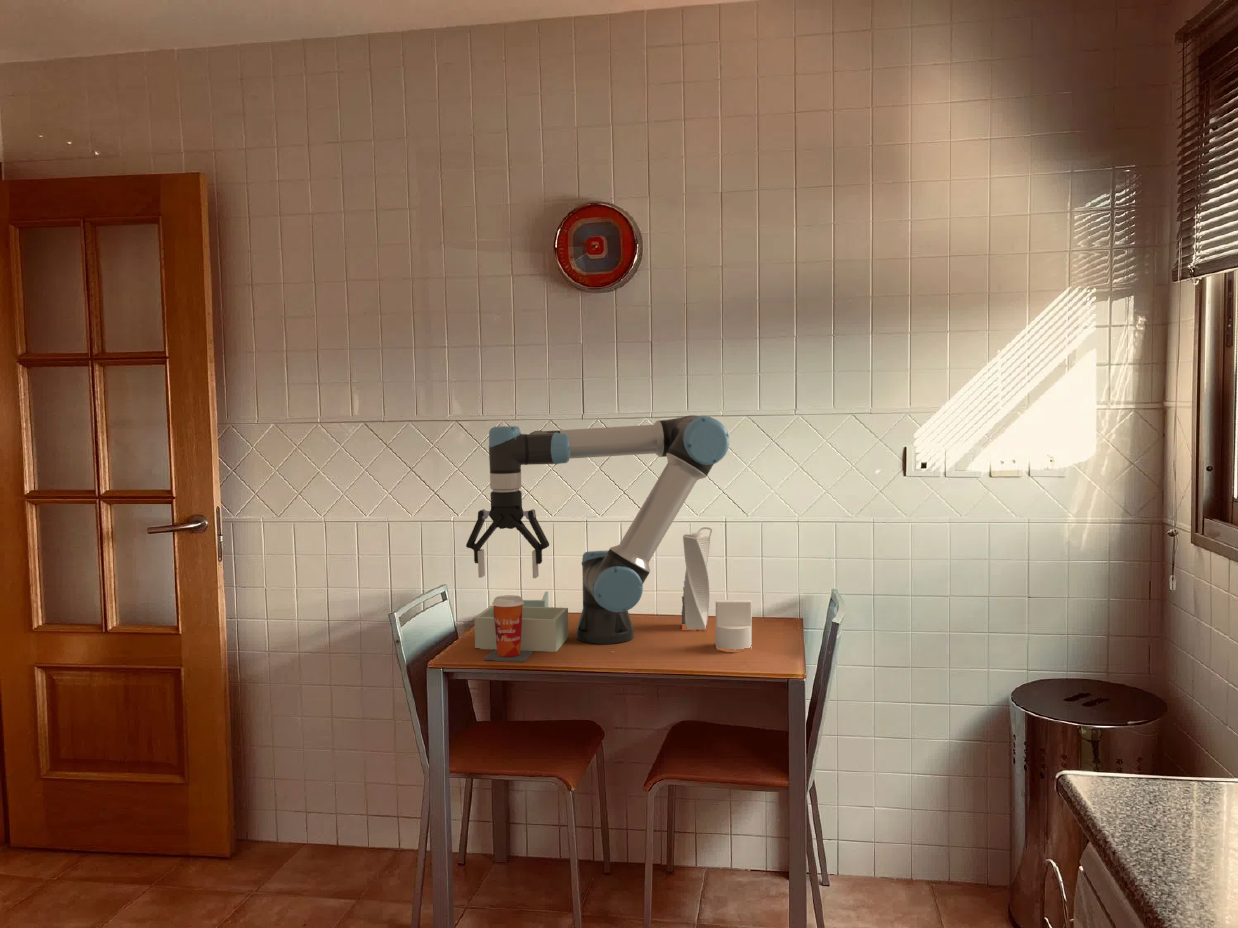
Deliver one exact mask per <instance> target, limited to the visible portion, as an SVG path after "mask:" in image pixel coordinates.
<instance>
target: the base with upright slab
mask: <svg viewBox="0 0 1238 928" xmlns="http://www.w3.org/2000/svg"><path fill="white" fill-rule="evenodd" d="M752 601H753V600H751V599H715V648H716V647H718V648H724V649H734V650H736V649H744V648H750V647H751V648H752V646H751V645H752V639H753V638H752V630H753V629H752V626H753V625H752V621H753V619H752V614H753V613H752V611H753V610H752V609H753V608H752V606H753V605H752V603H753V602H752Z"/></svg>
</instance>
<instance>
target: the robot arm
mask: <svg viewBox="0 0 1238 928" xmlns="http://www.w3.org/2000/svg"><path fill="white" fill-rule="evenodd" d="M729 447H730V435H729V432H728V430H727V428H726V426H725V425H724V424H723V423H722V422H721V421H719V420H717V419H716V418H713V417H711V416H709V415H686V416H681V417H676V418H670V419H662V420H659V419H658V420H656V421H655V422H654V423H653V424H643V425H642V424H639V425H623V426H610V427H609V426H607V427H592V428H591V427H590V428H576V429H575V428H574V429H572V428H571V429H558V430H533V431H532V432H530V433H528V434H527V433H521V429H520V427H519V426H516V425H510V426H508V425H507V426H506V425H505V426H502V425H500V426H493V427H491V428H490V429H489V431H488V460H489V488H490V490H492V491H491V492H490V510H486V509H484V508H483V509H481V510H478V512H477V520H476V522H475V525H474V527H473V529H472V531H471V533H470V536H469V537H468V540H467V542H466V545H465V547H466V548H467V549H471V550H472V551H473V561H474V564H477V570H478V572H477V573H478V574H477V575H478V578H483V577H485V576H486V571H485V567H486V566H485V549H484V548H483V549H482V547H483V546H484V545H485V543H486V542H487V541H488V539H489V538H490V537H491V536H492V534H493V533H494V532H495V531H496V530H497V528H498V529H500V530H503V529H510V530H512V529H516V530H517V531H519V533H520V534H521V535H522V536H523V538H524V539H525V540H526V541H527V542H528V544H530V545H531V547H532V548H533V549H534V550H532V551H531V560H532V561H531V563H532V565H531V566H532V579H537V578H538V577H539V576H540V575H539V565H540V564H542V563H543V550H544V549H546V548H549V547H550V542H549V541H548V539H547V537H546V535H545V533H544V531H543V528H542V526H541V525H540V523H539V520H538V519H537V514H536V510H535V509H534V508H533V509H530V510H523V497H522V496H523V493H522V491H521V489H522V466H527V465H531V466H532V465H559V464H560V465H561V464H567V463H568V462H569V461H570V459H571V460H572V459H586V458H601V457H604V458H605V457H619V456H637V455H656V456H657V457H659V458H663V457H664V458H665V457H666V460H667V463H666V465H665V467H664V468H663V470H662V471H661V473H660V475H659V476H658V478H657V481H656V482H655V484H654V485H653V487H652V489H651V490H650V492H649V494H648V495H647V497H646V499H645V501H644V502H643V504H642V505H641V508H640V509H639V511H638V512H637V514H636V516H635V517H634V519H633V520H632V522H631V524H630V526H629V527H628V529H627V530H626V532H625V534H624V536H623V537H622V539H621V541H620V542H619V544H617V545H615V546H611V547H610V548H609V549H608V550H591V551H585V552H583V554H582V559H581V560H582V561H581V566H582V568H581V569H582V572H581V573H582V611H581V614H580V617H579V620H578V623H577V627H576V639H577V640H579V641H581V642H583V643H588V644H597V645H598V644H600V645H603V644H604V645H607V644H608V645H611V644H618V643H619V644H620V643H625V642H628V641H630V640H632V639H634V637H635V629H634V625H633V622H632V620H631V616H630V614H629V611H630V610H631V609H633V608H635V606H636V605H637V604H638V603H639V601H640V600H641V598H642V595H643V590H644V583H645V581H646V580H647V578H648V576H649V574H651V569H650V565H649V564H650V561H651V559H652V557H653V556H654V554H655V552H656V551H657V549H658V547H659V546H660V544H661V542H662V541H663V538H664V537H665V536H666V534H667V532H668V531H669V529H670V527H671V526H672V523H673V522H674V520H675V519H676V516H677V515H678V514H679V512H680V510H681V508H682V507H683V505H684V504H685V501H686V500H687V498H688V497H689V494H690V493H691V491H692V489H693V488H694V486H695V484H696V483H697V482H698V480H703V479H705V478H707V476H708V475H709V474H710V472H711V470H712V468H713V466H714V465H715V464H717V463H719V461H722V459H724V458H725V456H726V455H727V453H728V451H729ZM524 517H525V518H526V519H527V520H528V521H529V525H530V526H531V528H532V530H533V532H534V534H535V536H536V537H535V536H534V534H533V533H531V531H530V530H529V529H528V527H527V526H526V525H525V523H524V522H523V521H522V519H523V518H524ZM488 518H490V519H491V520H492V523H491V524H490V525H489V526H488V527H487V530H485V532H484V533H483V534H482V535H481V537H480V538H479V539H478V537H479V534H480V532H481V530H482V528H483V525H484V524H485V521H486V520H487V519H488ZM477 539H478V540H477ZM476 540H477V542H476Z"/></svg>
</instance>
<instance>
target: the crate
mask: <svg viewBox="0 0 1238 928" xmlns="http://www.w3.org/2000/svg"><path fill="white" fill-rule="evenodd" d="M567 638H568V639H569V607H554V606H553V607H552V606H548V607H523V606H522V629H521V650H524V651H533V652H551V653H556V652H558V650H559V649H560V648H561V647H562V645H564V643H565V642H566V641H567V640H568V639H567ZM475 648H480V649H479V650H493V649H497V644H496V632H495V621H494V605H490V606H489V607H487V608H486V609H484V610H483V611H481V613H479V614H478V615H476V616H475V617H474V649H475Z"/></svg>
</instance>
